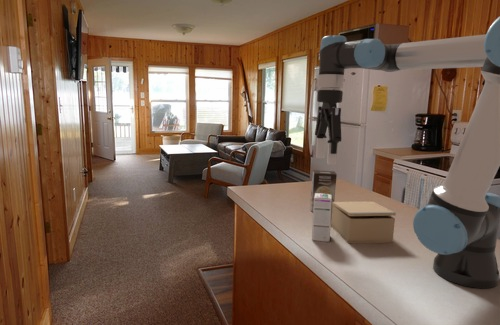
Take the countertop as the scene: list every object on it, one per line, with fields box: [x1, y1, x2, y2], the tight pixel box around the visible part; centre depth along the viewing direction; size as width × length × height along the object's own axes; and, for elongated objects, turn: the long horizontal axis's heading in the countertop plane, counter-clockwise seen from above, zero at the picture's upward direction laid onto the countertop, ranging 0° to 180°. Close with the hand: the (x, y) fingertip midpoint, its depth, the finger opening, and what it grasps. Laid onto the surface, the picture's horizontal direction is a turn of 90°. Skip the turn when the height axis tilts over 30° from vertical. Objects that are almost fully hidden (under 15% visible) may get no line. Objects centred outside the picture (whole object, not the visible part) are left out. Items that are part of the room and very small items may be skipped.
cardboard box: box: [331, 204, 396, 244], centre depth 123 cm, size 16×15×8 cm
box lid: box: [332, 200, 397, 217], centre depth 122 cm, size 16×15×1 cm
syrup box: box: [311, 193, 332, 243], centre depth 117 cm, size 6×6×14 cm
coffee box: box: [309, 169, 338, 214], centre depth 147 cm, size 9×6×16 cm
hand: (325, 160), depth 114 cm, fingers open, 10 cm apart
